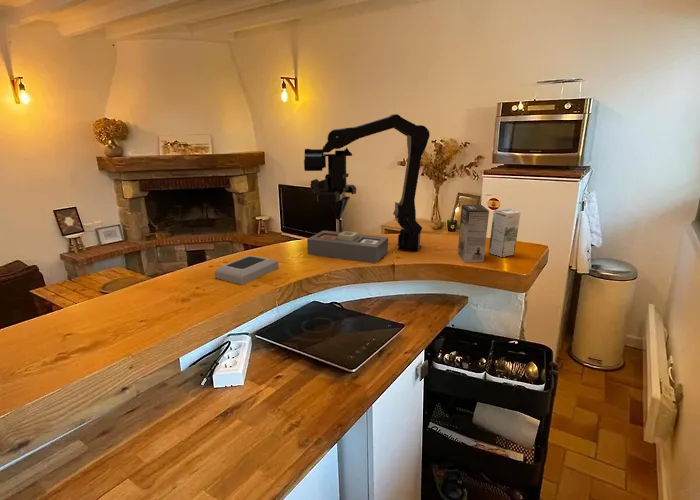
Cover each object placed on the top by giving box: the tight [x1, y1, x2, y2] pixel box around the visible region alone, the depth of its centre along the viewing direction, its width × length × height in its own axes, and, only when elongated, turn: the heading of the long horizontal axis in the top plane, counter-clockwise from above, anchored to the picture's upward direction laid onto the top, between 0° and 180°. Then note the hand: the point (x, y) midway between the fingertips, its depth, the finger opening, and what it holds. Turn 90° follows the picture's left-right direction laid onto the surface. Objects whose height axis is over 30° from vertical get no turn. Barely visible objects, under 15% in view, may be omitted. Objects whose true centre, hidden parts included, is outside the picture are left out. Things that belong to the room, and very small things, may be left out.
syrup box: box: [488, 208, 521, 258], centre depth 133 cm, size 6×6×14 cm
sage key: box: [338, 230, 359, 242], centre depth 133 cm, size 5×5×3 cm
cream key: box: [361, 239, 378, 244], centre depth 131 cm, size 5×5×3 cm
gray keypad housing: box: [306, 230, 389, 264], centre depth 134 cm, size 23×12×5 cm, turn 69°
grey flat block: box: [214, 254, 279, 286], centre depth 116 cm, size 10×4×15 cm
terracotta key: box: [319, 235, 337, 239], centre depth 136 cm, size 5×5×3 cm
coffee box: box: [457, 204, 490, 263], centre depth 129 cm, size 9×6×16 cm
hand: (338, 219), depth 136 cm, fingers closed
